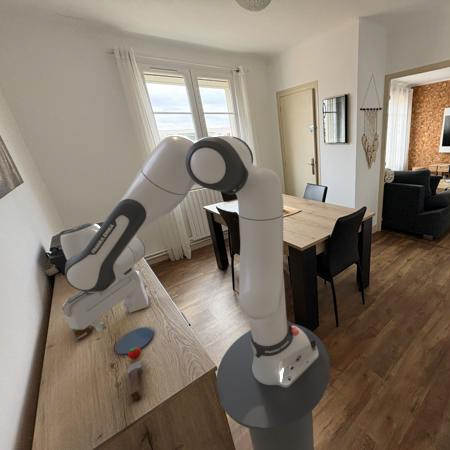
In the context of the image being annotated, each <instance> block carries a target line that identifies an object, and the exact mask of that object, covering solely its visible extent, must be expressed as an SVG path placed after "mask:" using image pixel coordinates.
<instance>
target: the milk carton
mask: <svg viewBox="0 0 450 450" xmlns="http://www.w3.org/2000/svg"><path fill="white" fill-rule="evenodd" d="M135 271H136V272H137V273H138V276H139V278H140V281H141V284H140V287H139V288H137V289H136V290H135V291H133V292H132V293H133V297H132V304H133V305H132V306H131V307H130V308H127V310H128V313H134V312H137V311H139V310H142V309H145V308H148V307H149V297H148V294H147V290H146V288H145V285H144V282H143V279H142V276H141V273H140V271H139V270H135ZM123 300H124V301H125V298H124V299H123Z"/></svg>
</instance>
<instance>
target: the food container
mask: <svg viewBox="0 0 450 450" xmlns="http://www.w3.org/2000/svg"><path fill="white" fill-rule="evenodd" d="M94 329H95V327H94V326H91V325H89V326H88V327H86V328H85V329H83V330H77V329H72V331H73V333H74V335H75V337H76V338H77V340H78V341H81V340H83V339H84V338H86V337H88V336H90V334H91V333H92V332H93V331H94Z"/></svg>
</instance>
